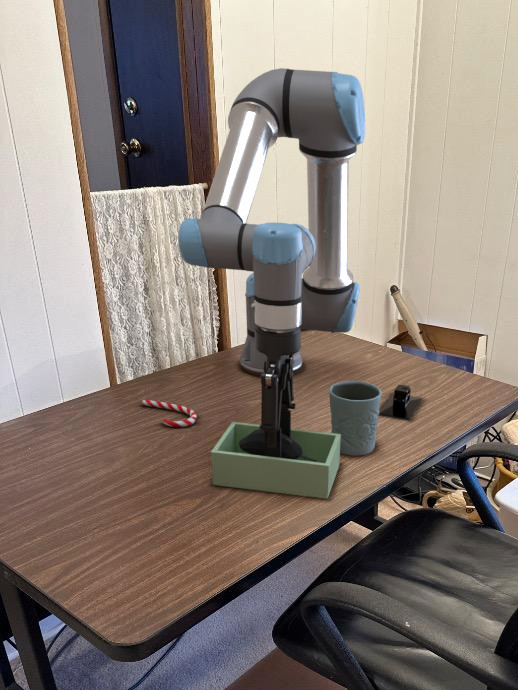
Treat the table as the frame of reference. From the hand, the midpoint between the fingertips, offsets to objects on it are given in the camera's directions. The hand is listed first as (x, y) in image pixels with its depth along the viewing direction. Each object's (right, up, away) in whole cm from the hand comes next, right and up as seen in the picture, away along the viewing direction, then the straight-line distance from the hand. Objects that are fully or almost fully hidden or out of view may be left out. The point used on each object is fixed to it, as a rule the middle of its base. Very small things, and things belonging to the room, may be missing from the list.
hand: (278, 451), depth 124 cm
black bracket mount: (+23, +12, +33) cm, 42 cm away
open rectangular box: (0, -4, +3) cm, 5 cm away
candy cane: (-26, +9, +21) cm, 35 cm away
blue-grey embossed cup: (+13, +2, +15) cm, 20 cm away
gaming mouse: (0, 0, 0) cm, 1 cm away
